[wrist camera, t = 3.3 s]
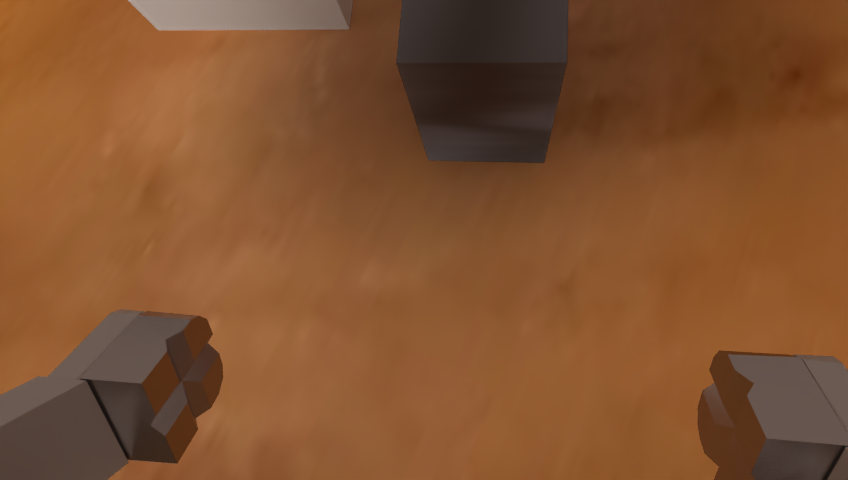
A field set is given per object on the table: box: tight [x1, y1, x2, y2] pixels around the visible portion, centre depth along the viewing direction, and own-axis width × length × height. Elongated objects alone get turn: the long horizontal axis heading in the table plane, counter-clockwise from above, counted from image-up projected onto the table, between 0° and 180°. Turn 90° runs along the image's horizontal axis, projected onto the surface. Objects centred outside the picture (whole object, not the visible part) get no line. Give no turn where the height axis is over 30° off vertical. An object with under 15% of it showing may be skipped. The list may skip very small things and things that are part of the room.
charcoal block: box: [396, 0, 568, 163], centre depth 20 cm, size 5×5×8 cm
